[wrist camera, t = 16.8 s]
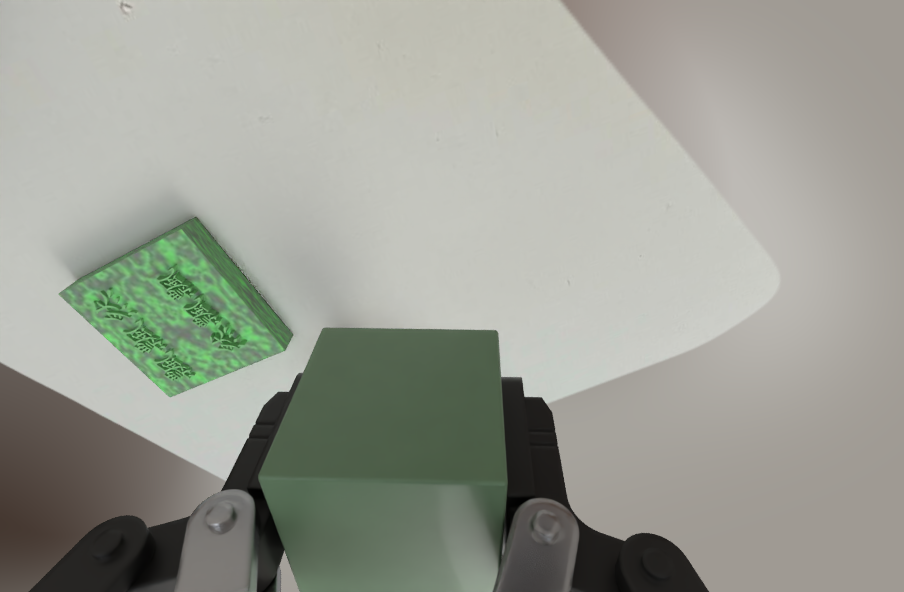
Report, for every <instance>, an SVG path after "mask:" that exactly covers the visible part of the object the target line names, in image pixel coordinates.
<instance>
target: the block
mask: <svg viewBox="0 0 904 592" xmlns="http://www.w3.org/2000/svg"><path fill="white" fill-rule="evenodd" d="M258 479H259V482H260V485H261V488H262V490H263V493H264V496H265V498H266V501H267V504H268V507H269V509H270V512H271V515H272V518H273V520H274V523H275V526H276V528H277V531H278V534H279V537H280V539H281V542H282V545H283V547H284V550H285V553H286V556H287V558H288V561H289V564H290V567H291V569H292V572H293V575H294V577H295V580H296V582H297V585H298V588H299V591H300V592H493V589H494V585H495V581H496V578H497V574H498V571H499V567H500V564H501V560H502V549H503V536H504V524H505V512H506V499H507V487H508V478H507V463H506V447H505V431H504V416H503V400H502V385H501V369H500V353H499V338H498V332H497V331H496V330H449V329H381V328H323V329H322V331H321V334H320V336H319V338H318V341H317V343H316V345H315V347H314V350H313V352H312V354H311V356H310V359H309V361H308V363H307V366H306V368H305V370H304V372H303V375H302V377H301V379H300V381H299V384H298V386H297V388H296V391H295V393H294V395H293V397H292V400H291V402H290V404H289V407H288V409H287V411H286V413H285V416H284V418H283V420H282V422H281V425H280V427H279V429H278V432H277V434H276V436H275V438H274V441H273V443H272V445H271V447H270V450H269V452H268V454H267V457H266V459H265V461H264V463H263V466H262V468H261V470H260V473H259V475H258Z"/></svg>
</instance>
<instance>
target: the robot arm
mask: <svg viewBox="0 0 904 592" xmlns="http://www.w3.org/2000/svg"><path fill="white" fill-rule="evenodd" d="M302 375H303V373H299V374H298V375H297V376H296V378H295V380H294V383H293V385H292V387H291V389H290V391H289V392H278V393H277V394H275V395H274V396H273V397H272V398H271V399H270V400H269V401H268V402H267V403H266V404H265V405H264V406H263V408H262V410H261V412H260V414H259V416H258V418H257V420H256V425H254V426H253V428H252V430H251V432H250V434H249V439H247V440H246V442H245V444H244V446H243V448H242V450H241V452H240V454H239V457H238V459H237V461H236V463H235V465H234V467H233V469H232V471H231V473H230V475H229V477H228V479H227V481H226V483H225V485H224V487H223V488H222V490H221V492H218V493H216V494H214V495H212V496H210V497H208V498H207V499H206V500H204V501H203V502H202V503H201V504H200V505H198V507H197V508H196V509H195V510H194V511H193V513H192V514H191V516H189V517H186V518H183V519H180V520H176V521H172V522H168V523H165V524H161V525H157V526H153V527H149V528H147V526H146V525H145V523H144V522H143V521H142V520H141V519H140V518H138V517H135V516H127V515H126V516H119V517H115V518H112V519H110V520H107V521H105V522H103V523H101V524H100V525H98V526H96V527H95V528H94V529H92V530H91V531H90V532H88V534H86V535H85V536H84V537H83V538H82V539H81V540H80V541H79V542H78V543H77V544H76V545H75V546H74V547H73V548H72V549H71V550H70V551H69V552H68V553H67V554H66V555H65V556H64V557H63V558H62V559H61V560H60V561H59V562H58V563H57V564H56V565H55V566H54V567H53V568H52V569H51V570H50V571H49V572H48V573H47V574H46V575H45V576H44V577H43V578H42V579H41V580H40V581H39V582H38V583H37V584H36V585H35V586H34V587H33V588H32V589H31V590H30V591H29V592H281V570H280V566H279V565H280V562H281V559H282V556H283V553H284V547H283V545H282V542H281V539H280V537H279V534H278V531H277V528H276V526H275V523H274V520H273V518H272V515H271V512H270V509H269V507H268V504H267V501H266V498H265V496H264V493H263V490H262V488H261V485H260V482H259V479H258V475H259V473H260V470H261V468H262V466H263V463H264V461H265V459H266V457H267V454H268V452H269V450H270V447H271V445H272V443H273V441H274V438H275V436H276V434H277V432H278V429H279V427H280V425H281V422H282V420H283V418H284V416H285V413H286V411H287V409H288V407H289V404H290V402H291V400H292V397H293V395H294V393H295V391H296V388H297V386H298V384H299V381H300V379H301V377H302ZM501 385H502V400H503V416H504V431H505V447H506V463H507V478H508V487H507V499H506V512H505V524H504V536H503V549H502V560H501V564H500V567H499V571H498V574H497V578H496V581H495V585H494V589H493V592H709V591H708V590H707V588H706V587H705V585H704V583H703V582H702V580H701V579H700V578H699V576H698V574H697V573H696V571H695V570H694V568H693V567H692V565H691V563H690V562H689V560H688V559H687V558H686V556H685V555H684V553H683V552H682V551H681V550H680V549H679V548H678V547H677V546H675V545H674V544H673V543H672V542H670V541H669V540H667V539H665V538H663V537H661V536H658V535H655V534H650V533H640V534H635V535H633V536H631V537H629V538H628V539H627V540H626V541H623V540H620V539H617V538H614V537H611V536H608V535H606V534H603V533H600V532H598V531H595V530H593V529H591V528H590V527H588V526H587V525H585V524H584V523H583V522H582V521H581V520H579V519H578V517H577V516H576V515H575V514H574V512H573V511H572V509H571V507H570V505H569V502H568V499H567V494H566V488H565V483H564V477H563V471H562V466H561V460H560V455H559V449H558V446H557V437H556V433H555V426H554V420H553V415H552V412H551V410H550V409H549V407H548V406H547V404H546V403H545V402H544V400H543V399H542V397H524V391H523V383H522V378H521V377H501Z"/></svg>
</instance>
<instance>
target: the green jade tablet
mask: <svg viewBox="0 0 904 592" xmlns="http://www.w3.org/2000/svg"><path fill="white" fill-rule="evenodd" d="M59 295H60V296H61V297H62V298H63V299H64V300H65V301H66V302H67V303H69V304H70V305H71V306H72V307H73V308H74V309H75V310H76V311H77V312H78V313H79V314H80V315H81V316H83V317H84V318H85V319H86V320H87V321H88V322H89V323H90V324H91V325H92V326H93V327H94V328H95V329H97V330H98V331H99V332H100V333H101V334H102V335H103V336H104V337H105V338H106V339H107V340H108V341H110V342H111V343H112V344H113V345H114V346H115V347H116V348H117V349H118V350H119V351H120V352H121V353H122V354H124V355H125V356H126V357H127V358H128V359H129V360H130V361H131V362H132V363H133V364H134V365H135V366H136V367H138V368H139V369H140V370H141V371H142V372H143V373H144V374H145V375H146V376H147V377H148V378H149V379H151V380H152V381H153V382H154V383H155V384H156V385H157V386H158V387H159V388H160V389H161V390H162V391H163V392H165V393H166V394H167V395H168V396H169V397H172V396H175V395H177V394H180V393H182V392H184V391H187V390H189V389H192V388H194V387H197V386H199V385H202V384H204V383H207V382H209V381H211V380H214V379H216V378H219V377H221V376H224V375H226V374H229V373H231V372H234V371H236V370H238V369H241V368H243V367H246V366H248V365H251V364H253V363H256V362H258V361H261V360H263V359H266V358H268V357H270V356H273V355H275V354H278V353H280V352H283V351H285V350H286V348H287V346H288V344H289V342H290V340H291V338H292V336H293V334H292V333H291V332H290V331H289V330H288V328H287V327H286V326H285V325H284V324H283V322H282V321H281V320H280V319H279V317H278V316H277V315H276V314H275V313H274V311H273V310H272V309H271V308H270V307H269V305H268V304H267V303H266V302H265V300H264V299H263V298H262V297H261V296H260V294H259V293H258V292H257V291H256V290H255V288H254V287H253V286H252V285H251V284H250V282H249V281H248V280H247V279H246V277H245V276H244V275H243V274H242V273H241V271H240V270H239V269H238V268H237V267H236V265H235V264H234V263H233V262H232V260H231V259H230V258H229V257H228V256H227V254H226V253H225V252H224V251H223V250H222V248H221V247H220V246H219V245H218V244H217V242H216V241H215V240H214V239H213V237H212V236H211V235H210V234H209V233H208V231H207V230H206V229H205V228H204V227H203V225H202V224H201V223H200V222H199V220H198V219H197V218H196V217H195V218H193V219H191V220H189V221H187V222H186V223H184V224H182V225H180V226H178V227H176V228H174V229H172V230H171V231H169V232H167V233H165V234H163V235H161V236H159V237H157V238H156V239H154V240H152V241H150V242H148V243H146V244H144V245H142V246H140V247H139V248H137V249H135V250H133V251H131V252H129V253H127V254H125V255H124V256H122V257H120V258H118V259H116V260H114V261H112V262H110V263H109V264H107V265H105V266H103V267H101V268H99V269H97V270H95V271H94V272H92V273H90V274H88V275H86V276H84V277H82V278H80V279H79V280H77V281H75V282H74V283H73V284H71V285H70V286H69V287H67V288H66V289H65V290H63V291H62V292H60V293H59Z"/></svg>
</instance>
